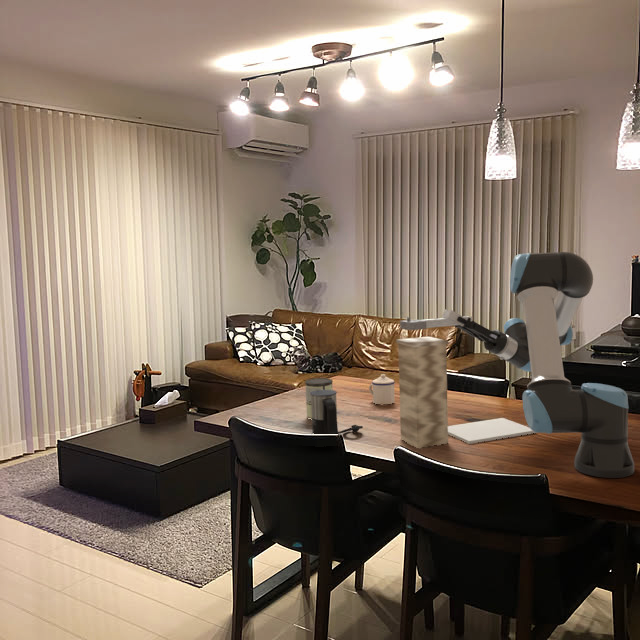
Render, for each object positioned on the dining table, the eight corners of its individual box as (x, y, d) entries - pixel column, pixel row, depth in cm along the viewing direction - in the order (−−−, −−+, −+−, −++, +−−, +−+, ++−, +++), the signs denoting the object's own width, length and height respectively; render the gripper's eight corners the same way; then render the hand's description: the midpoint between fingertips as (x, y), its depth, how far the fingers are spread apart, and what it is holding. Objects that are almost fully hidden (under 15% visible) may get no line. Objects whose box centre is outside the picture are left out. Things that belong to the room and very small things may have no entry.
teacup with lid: (399, 402, 270) (399, 374, 269) (385, 406, 264) (384, 377, 263) (377, 398, 279) (376, 370, 277) (362, 402, 272) (361, 374, 271)
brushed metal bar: (409, 330, 207) (409, 318, 206) (400, 328, 212) (399, 317, 212) (475, 324, 215) (475, 313, 215) (464, 322, 221) (464, 312, 221)
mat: (469, 444, 211) (468, 441, 211) (438, 430, 228) (438, 427, 228) (536, 433, 221) (536, 430, 220) (502, 420, 237) (502, 417, 237)
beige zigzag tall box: (416, 449, 208) (414, 344, 204) (398, 439, 219) (396, 339, 215) (450, 443, 212) (448, 340, 209) (430, 434, 223) (428, 336, 220)
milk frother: (306, 434, 229) (304, 392, 228) (342, 426, 238) (341, 385, 237) (330, 443, 218) (329, 398, 216) (368, 434, 227) (367, 391, 225)
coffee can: (309, 414, 257) (307, 377, 256) (335, 414, 255) (334, 377, 254) (304, 421, 247) (302, 383, 246) (331, 421, 245) (330, 383, 244)
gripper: (509, 357, 216) (454, 326, 207) (481, 351, 230) (429, 321, 221) (519, 336, 216) (464, 304, 208) (490, 331, 231) (438, 301, 222)
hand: (446, 313), depth 215 cm, fingers closed on brushed metal bar, 2 cm apart
